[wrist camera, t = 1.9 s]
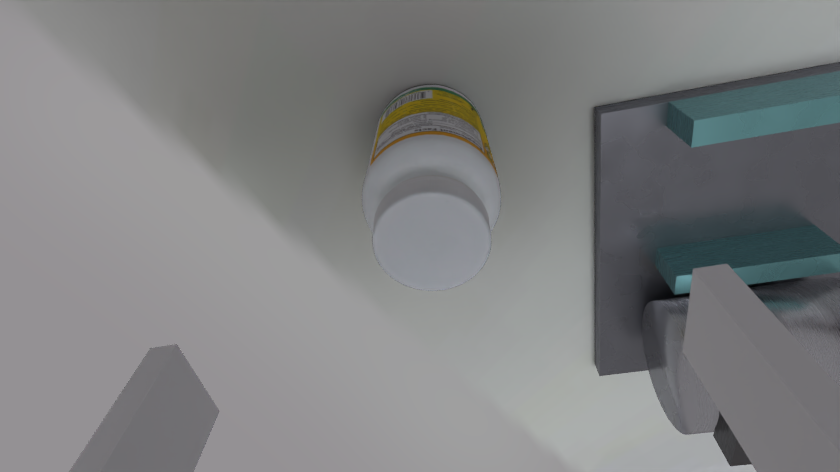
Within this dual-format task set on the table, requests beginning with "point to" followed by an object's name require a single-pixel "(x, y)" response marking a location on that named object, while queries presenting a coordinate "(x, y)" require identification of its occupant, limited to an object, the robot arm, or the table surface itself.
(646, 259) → the motor unit
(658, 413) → the table surface
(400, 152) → the supplement bottle
